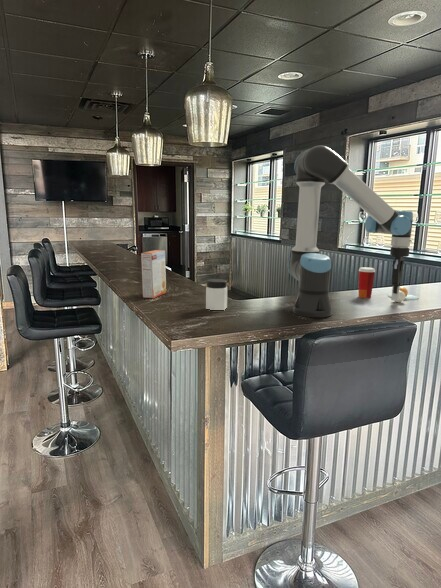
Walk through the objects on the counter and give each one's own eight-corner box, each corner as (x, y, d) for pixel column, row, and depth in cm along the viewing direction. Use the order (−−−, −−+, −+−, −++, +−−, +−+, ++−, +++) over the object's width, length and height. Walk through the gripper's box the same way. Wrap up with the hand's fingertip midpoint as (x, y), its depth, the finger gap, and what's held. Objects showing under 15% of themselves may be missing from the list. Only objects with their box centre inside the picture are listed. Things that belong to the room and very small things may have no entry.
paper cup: (370, 295, 201) (373, 267, 199) (375, 299, 194) (377, 269, 191) (354, 295, 202) (356, 266, 199) (357, 298, 195) (360, 269, 192)
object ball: (394, 286, 195) (396, 286, 199) (393, 298, 195) (395, 297, 200) (407, 288, 192) (409, 287, 196) (406, 299, 192) (408, 298, 197)
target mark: (384, 297, 198) (384, 297, 198) (390, 292, 209) (390, 292, 209) (416, 301, 190) (416, 300, 190) (420, 296, 202) (420, 295, 202)
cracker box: (155, 292, 203) (154, 249, 199) (166, 293, 201) (166, 250, 197) (141, 297, 190) (140, 252, 186) (153, 298, 188) (152, 252, 184)
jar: (224, 306, 176) (224, 278, 173) (229, 310, 168) (230, 281, 165) (203, 307, 173) (204, 279, 171) (208, 311, 166) (208, 282, 163)
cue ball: (394, 287, 190) (393, 298, 192) (390, 292, 186) (389, 303, 188) (407, 289, 186) (406, 300, 189) (403, 294, 183) (402, 305, 185)
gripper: (406, 248, 171) (401, 304, 176) (412, 246, 182) (406, 298, 186) (387, 247, 175) (382, 301, 180) (394, 245, 186) (388, 296, 190)
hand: (394, 300), depth 183 cm, fingers closed
